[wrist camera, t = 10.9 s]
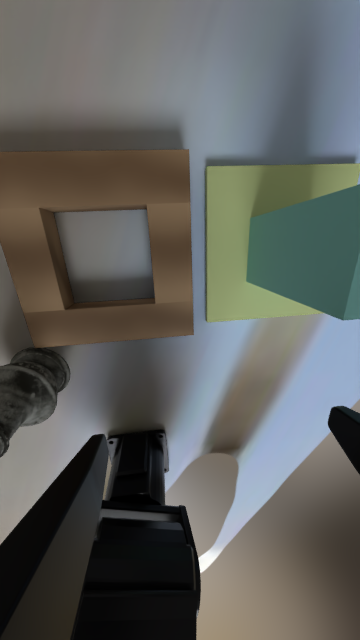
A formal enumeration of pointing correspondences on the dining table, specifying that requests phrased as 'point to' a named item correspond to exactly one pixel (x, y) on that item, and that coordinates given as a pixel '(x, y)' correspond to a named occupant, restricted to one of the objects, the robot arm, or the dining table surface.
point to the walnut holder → (96, 195)
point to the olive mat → (234, 224)
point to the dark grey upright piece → (29, 390)
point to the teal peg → (310, 253)
